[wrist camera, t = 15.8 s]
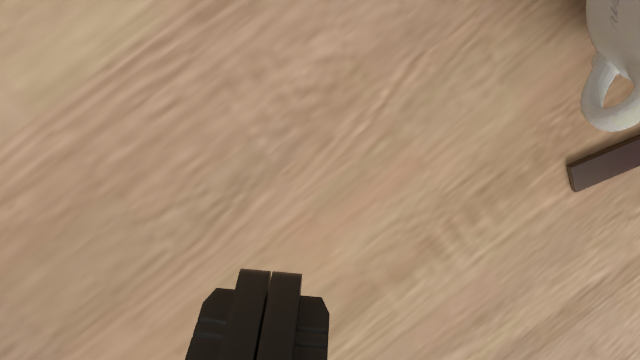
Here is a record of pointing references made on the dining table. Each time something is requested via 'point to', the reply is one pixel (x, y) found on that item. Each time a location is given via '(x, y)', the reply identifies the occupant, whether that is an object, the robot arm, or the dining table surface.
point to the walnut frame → (604, 164)
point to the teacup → (613, 62)
